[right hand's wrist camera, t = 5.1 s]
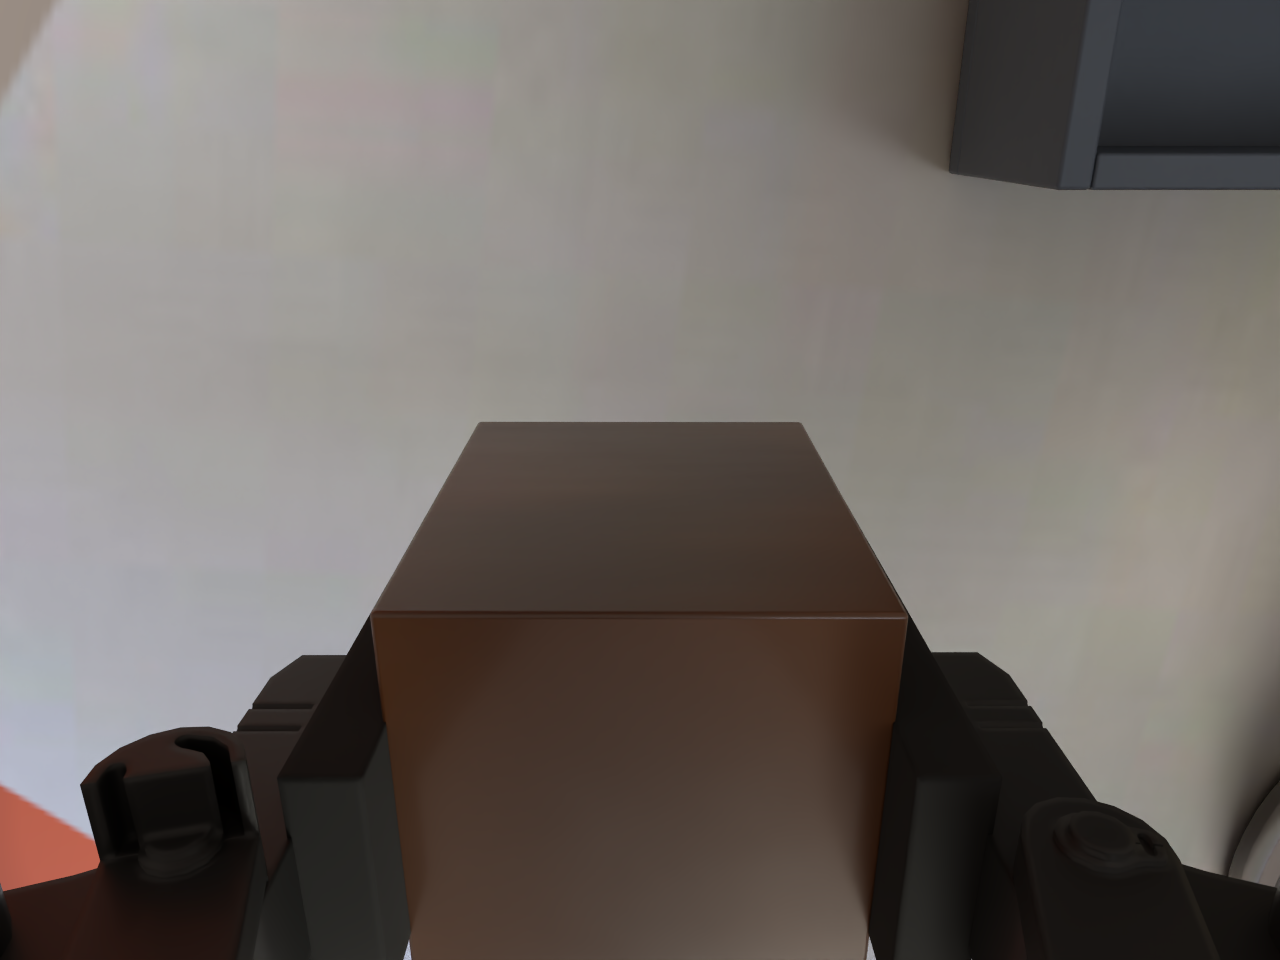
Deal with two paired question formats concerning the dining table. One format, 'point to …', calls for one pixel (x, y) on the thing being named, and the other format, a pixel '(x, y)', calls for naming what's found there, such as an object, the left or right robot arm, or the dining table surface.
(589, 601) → the walnut block
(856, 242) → the dining table surface
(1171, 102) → the scoop
